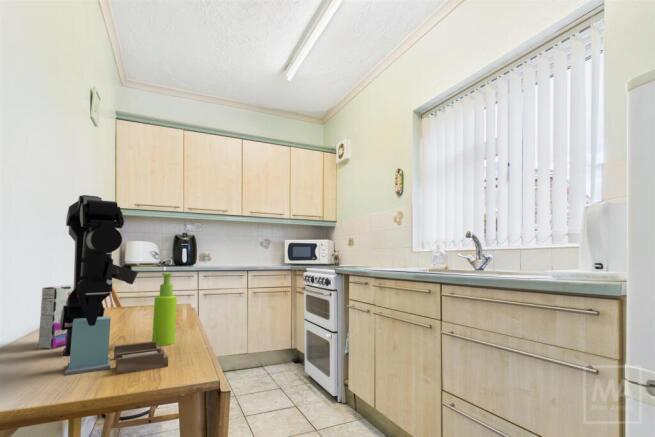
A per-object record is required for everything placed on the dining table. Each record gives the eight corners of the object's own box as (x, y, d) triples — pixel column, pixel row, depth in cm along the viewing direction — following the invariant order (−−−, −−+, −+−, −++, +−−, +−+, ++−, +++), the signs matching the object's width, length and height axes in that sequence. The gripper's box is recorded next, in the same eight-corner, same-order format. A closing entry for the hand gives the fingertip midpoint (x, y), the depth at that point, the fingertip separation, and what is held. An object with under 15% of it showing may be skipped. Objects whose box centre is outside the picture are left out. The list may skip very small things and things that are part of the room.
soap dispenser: (172, 339, 105) (175, 272, 107) (176, 344, 99) (179, 273, 101) (150, 341, 102) (154, 272, 104) (153, 346, 96) (157, 273, 98)
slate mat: (67, 365, 79) (68, 362, 79) (109, 359, 84) (109, 357, 84) (65, 375, 73) (65, 372, 73) (110, 368, 77) (110, 365, 77)
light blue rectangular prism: (70, 364, 78) (74, 318, 79) (107, 359, 82) (110, 316, 83) (69, 369, 75) (72, 321, 76) (107, 364, 78) (110, 318, 80)
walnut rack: (114, 358, 85) (114, 345, 85) (159, 352, 90) (159, 340, 90) (116, 374, 73) (117, 359, 74) (167, 366, 79) (168, 352, 79)
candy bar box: (73, 339, 105) (78, 283, 106) (87, 339, 104) (91, 284, 105) (35, 348, 94) (41, 286, 95) (51, 349, 93) (56, 287, 94)
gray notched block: (121, 369, 77) (122, 355, 78) (159, 363, 81) (160, 350, 82) (121, 372, 75) (122, 358, 76) (161, 366, 79) (162, 352, 80)
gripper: (140, 253, 78) (136, 325, 76) (133, 254, 93) (129, 313, 91) (79, 252, 71) (73, 331, 70) (82, 253, 87) (77, 317, 85)
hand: (92, 322), depth 79 cm, fingers open, 9 cm apart
